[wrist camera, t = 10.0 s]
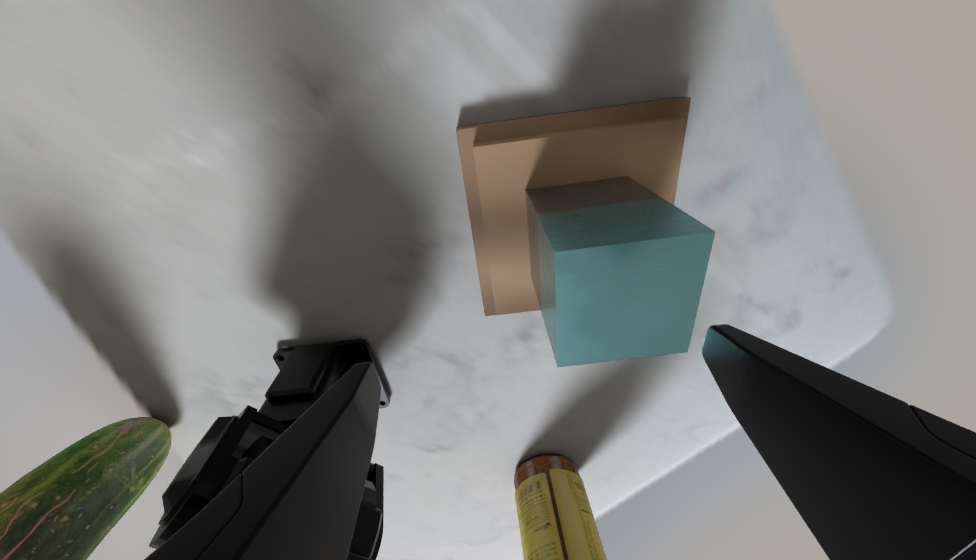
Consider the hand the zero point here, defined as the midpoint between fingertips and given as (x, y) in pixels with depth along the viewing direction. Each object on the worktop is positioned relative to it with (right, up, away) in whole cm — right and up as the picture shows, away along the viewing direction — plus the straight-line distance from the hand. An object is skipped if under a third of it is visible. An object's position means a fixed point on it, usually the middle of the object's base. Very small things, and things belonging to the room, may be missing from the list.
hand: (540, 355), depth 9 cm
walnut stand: (+3, +6, +11) cm, 12 cm away
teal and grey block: (+3, +5, +9) cm, 10 cm away
